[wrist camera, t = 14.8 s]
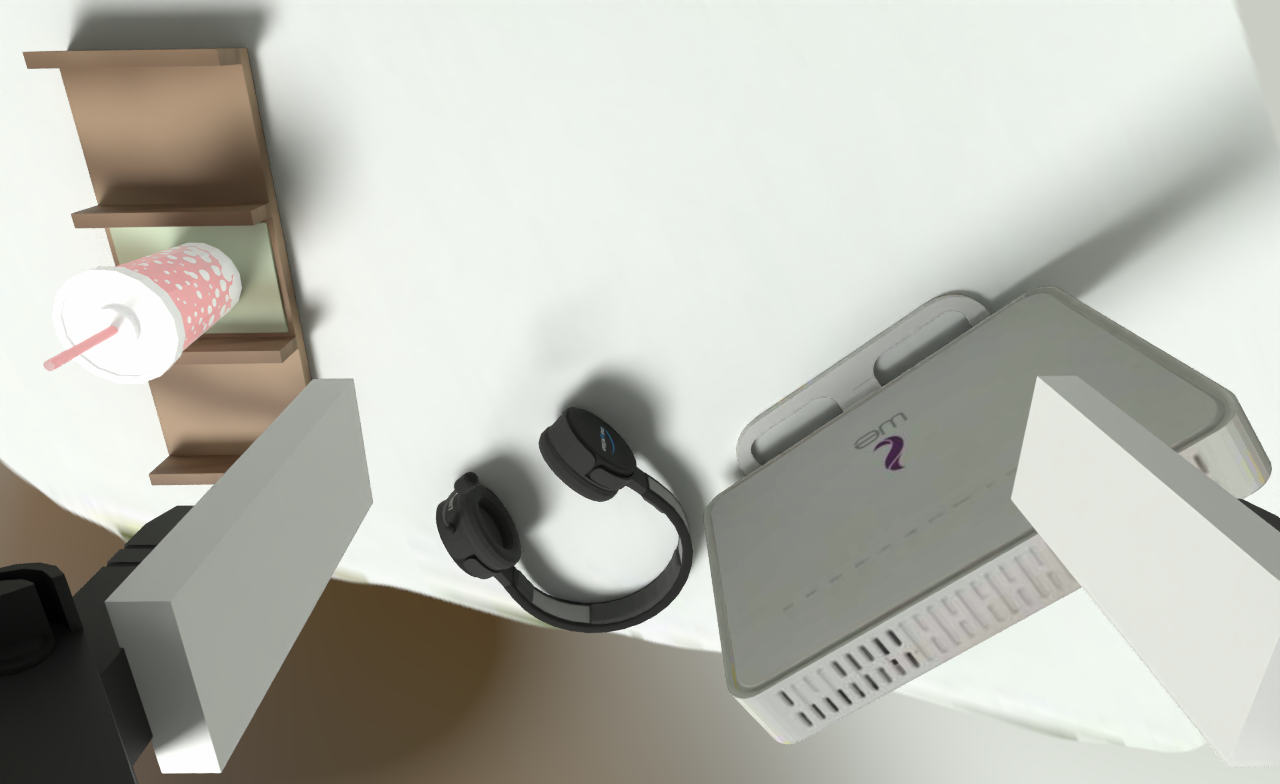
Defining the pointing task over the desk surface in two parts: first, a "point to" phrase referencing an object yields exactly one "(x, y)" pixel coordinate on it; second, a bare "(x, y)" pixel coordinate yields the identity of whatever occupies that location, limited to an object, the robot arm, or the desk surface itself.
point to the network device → (926, 503)
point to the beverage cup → (143, 311)
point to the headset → (592, 470)
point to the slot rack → (193, 232)
